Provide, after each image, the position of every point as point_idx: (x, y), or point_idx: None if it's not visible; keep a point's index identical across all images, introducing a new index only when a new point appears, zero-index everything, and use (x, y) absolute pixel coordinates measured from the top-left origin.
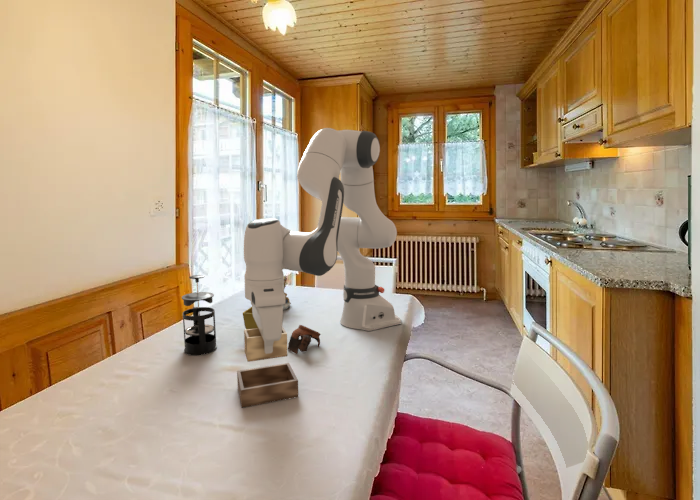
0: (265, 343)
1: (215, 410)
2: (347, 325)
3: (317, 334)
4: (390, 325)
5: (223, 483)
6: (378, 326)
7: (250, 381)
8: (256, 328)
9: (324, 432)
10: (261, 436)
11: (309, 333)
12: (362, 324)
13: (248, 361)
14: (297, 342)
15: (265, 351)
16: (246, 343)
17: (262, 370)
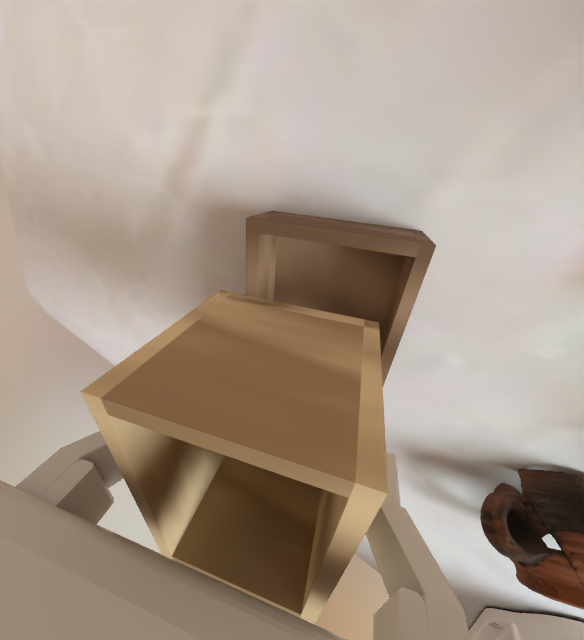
0: (96, 435)
1: (293, 111)
2: (569, 625)
3: (516, 573)
4: (470, 631)
5: (11, 105)
6: (481, 626)
7: (396, 281)
8: (342, 557)
9: (142, 335)
10: (142, 227)
11: (534, 573)
12: (517, 632)
13: (220, 294)
14: (543, 516)
15: None
16: (197, 357)
17: (385, 339)
